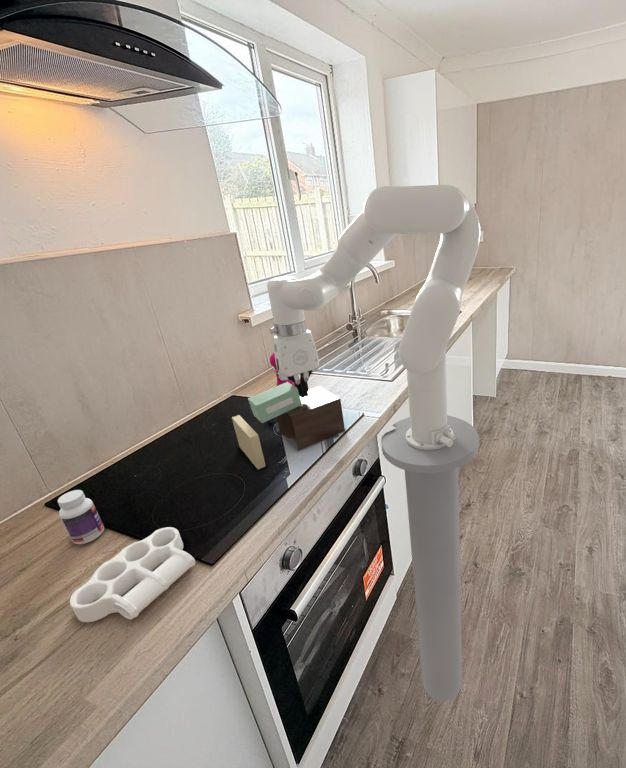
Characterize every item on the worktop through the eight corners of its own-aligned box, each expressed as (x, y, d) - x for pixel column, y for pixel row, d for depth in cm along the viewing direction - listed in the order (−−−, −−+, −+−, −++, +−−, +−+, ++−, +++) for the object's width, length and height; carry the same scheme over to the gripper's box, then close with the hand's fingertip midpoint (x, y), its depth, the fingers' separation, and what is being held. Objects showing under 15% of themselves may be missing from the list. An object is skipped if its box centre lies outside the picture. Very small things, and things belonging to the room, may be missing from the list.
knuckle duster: (115, 643, 61) (60, 609, 67) (212, 554, 75) (160, 533, 82) (106, 627, 59) (51, 594, 66) (207, 540, 74) (154, 519, 80)
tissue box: (292, 397, 111) (287, 381, 109) (302, 405, 106) (297, 388, 104) (253, 415, 105) (247, 398, 103) (262, 423, 101) (255, 406, 99)
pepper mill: (274, 412, 127) (260, 351, 119) (283, 401, 134) (271, 343, 126) (296, 412, 126) (284, 350, 118) (304, 401, 133) (293, 342, 125)
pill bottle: (109, 531, 83) (91, 492, 79) (79, 549, 79) (58, 509, 75) (98, 522, 86) (80, 484, 82) (68, 538, 82) (48, 499, 78)
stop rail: (266, 466, 100) (258, 434, 97) (258, 469, 99) (249, 437, 96) (247, 444, 111) (239, 414, 107) (239, 447, 110) (231, 417, 106)
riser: (345, 431, 113) (340, 398, 109) (298, 450, 106) (291, 416, 102) (324, 416, 122) (319, 385, 118) (280, 433, 115) (273, 401, 111)
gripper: (267, 338, 95) (281, 409, 103) (325, 324, 103) (334, 391, 111) (256, 332, 101) (270, 399, 108) (311, 319, 109) (321, 383, 116)
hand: (302, 395), depth 109 cm, fingers closed
